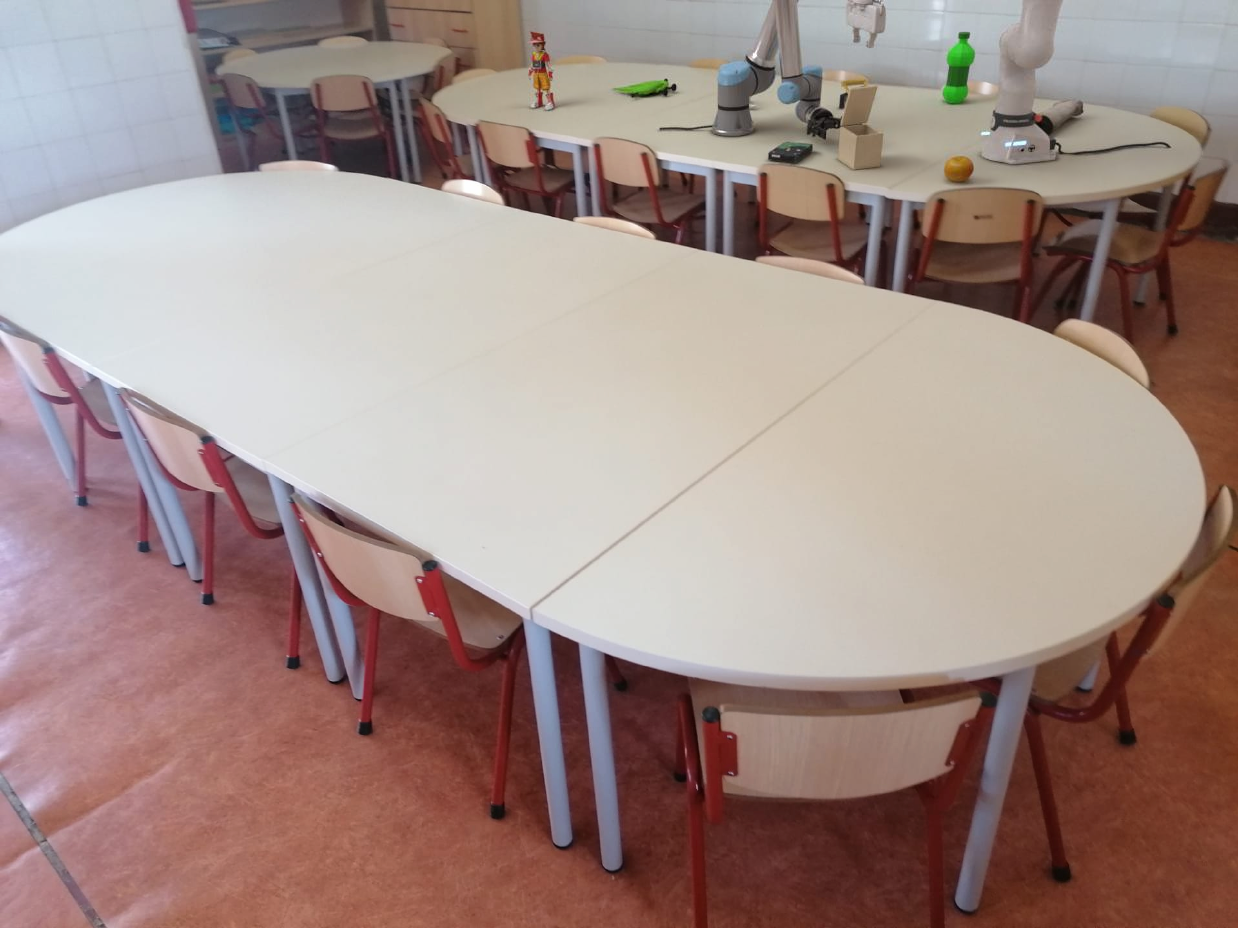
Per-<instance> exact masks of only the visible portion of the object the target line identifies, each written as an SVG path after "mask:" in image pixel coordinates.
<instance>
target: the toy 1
mask: <svg viewBox="0 0 1238 928" xmlns="http://www.w3.org/2000/svg"><path fill="white" fill-rule="evenodd" d="M529 33H530V35H531V36H528V37H527V38H528V39H529V40H528V41H527V43H529V44H530V43H531V44H532V48H533V50H534V51H533V52H532V55H531V58H530V59H531V63H530V66H528V74H527V75H528V76H527V77H528V79H529V80H531V75H532V74H533V84H532V85H533V86H532V87H533V88H534V89H535V90H536V92H534V95H535V97H536V100H535V101H533V102H531V105H530V108H531V109H535V108H538V107H542V106H544V101H543V100H544V99H543V95H544V92H546V94H545V97H546V99H547V103H546V104H545V106H544V110H546V111H549V110H553V109H554V107H555V106H556V105H555V99H554V92H551V91H550V90H551V86H552V84H551V82H552V81H553V80H554V77H553V73H554V71H555V70H554V69H552V68H551V63H550V61H551V59H550V58H551V57H550V54H549V53H548V52H547V50H546V48H545V46H546V44H547V41H545V35H544V33H543V32H542V33H539V32H535V31H529Z"/></svg>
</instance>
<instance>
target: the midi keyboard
mask: <svg viewBox="0 0 1238 928" xmlns="http://www.w3.org/2000/svg"><path fill="white" fill-rule="evenodd" d="M863 86H864V85H861V86H860V87H863ZM847 97H848V93H847V92H844V93H841V94H840V95H839V102H838V103H839V105H838V108H839V109H844V108H845V105H846V101H847Z"/></svg>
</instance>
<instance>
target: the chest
mask: <svg viewBox="0 0 1238 928" xmlns="http://www.w3.org/2000/svg"><path fill="white" fill-rule="evenodd" d="M839 129H840V130H839V142H838V143H839V144H838V150H837V151H838V153H837V160H838V161H840V162H842V163H843V164H844V165H845V166H847V167H849V168H850V169H852V170H853V171H854V170H862V169H863V170H864V169H869V168H870V169H871V168H878V167H881V158H882V151H883V142H884V132H881V131H880V130H879V129H877V128H874V127H873V126H871V125H869V124H868V123H863V124H862V125H853V126H844V127H841V128H839Z"/></svg>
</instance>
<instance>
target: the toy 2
mask: <svg viewBox="0 0 1238 928" xmlns="http://www.w3.org/2000/svg"><path fill="white" fill-rule="evenodd" d="M669 85H670V83H669V79H668V78H664V79H663V80H649V81H644V82H640V83H634V84H629V85H627V86H621V87H613V88H612V89H613V90H616V91H619V92H623V93H627V94H628V93H629V94H631V95H630V96H631V98H632V99H634V98H636V96H637V95H650V94H652V93H654V94H658V93H662V95H663V96H665V97H667V96H668V95H669V90H671V91H672V92H676V91H677V84H676V83H672V84H671V86H669Z"/></svg>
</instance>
